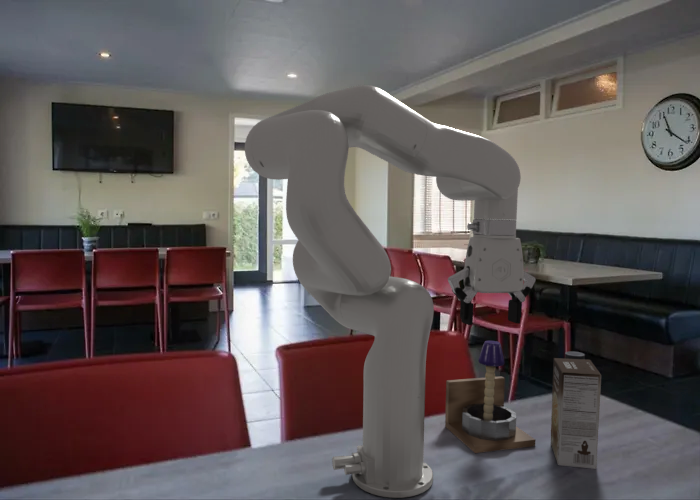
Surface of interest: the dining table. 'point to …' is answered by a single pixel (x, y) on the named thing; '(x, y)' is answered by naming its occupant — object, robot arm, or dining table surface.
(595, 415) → the coffee box
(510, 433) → the grey faceted ring
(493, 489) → the dining table surface
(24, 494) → the dining table surface
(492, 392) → the toy lamp
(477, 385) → the bracket
